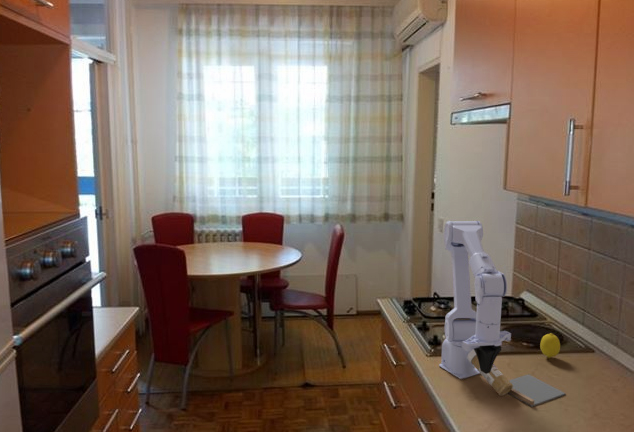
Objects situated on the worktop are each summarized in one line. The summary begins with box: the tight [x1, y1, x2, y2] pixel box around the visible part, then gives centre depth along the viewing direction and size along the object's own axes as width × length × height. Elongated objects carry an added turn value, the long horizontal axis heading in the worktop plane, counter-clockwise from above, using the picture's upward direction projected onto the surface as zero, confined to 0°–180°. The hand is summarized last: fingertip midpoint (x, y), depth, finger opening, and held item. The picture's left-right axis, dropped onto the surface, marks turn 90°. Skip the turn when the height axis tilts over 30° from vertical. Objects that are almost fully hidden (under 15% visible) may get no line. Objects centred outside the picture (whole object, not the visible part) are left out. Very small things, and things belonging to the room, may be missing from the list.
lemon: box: [539, 332, 561, 359], centre depth 157 cm, size 6×6×8 cm
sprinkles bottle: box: [467, 349, 513, 397], centre depth 139 cm, size 5×5×14 cm
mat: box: [507, 374, 566, 408], centre depth 139 cm, size 12×13×2 cm
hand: (485, 371), depth 129 cm, fingers closed
